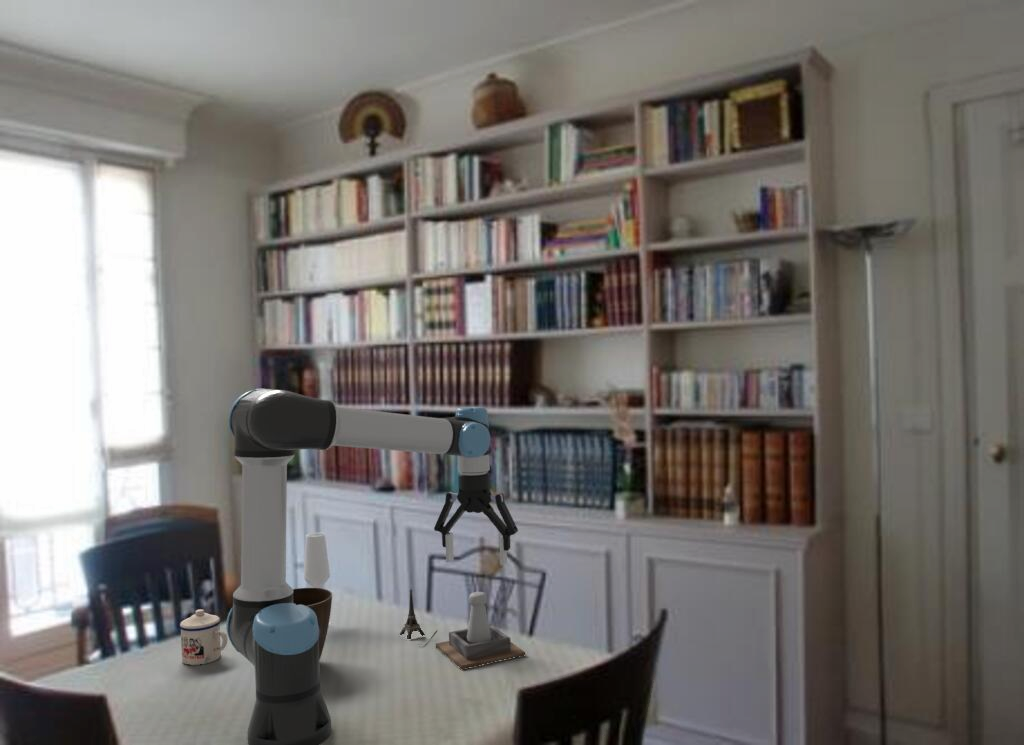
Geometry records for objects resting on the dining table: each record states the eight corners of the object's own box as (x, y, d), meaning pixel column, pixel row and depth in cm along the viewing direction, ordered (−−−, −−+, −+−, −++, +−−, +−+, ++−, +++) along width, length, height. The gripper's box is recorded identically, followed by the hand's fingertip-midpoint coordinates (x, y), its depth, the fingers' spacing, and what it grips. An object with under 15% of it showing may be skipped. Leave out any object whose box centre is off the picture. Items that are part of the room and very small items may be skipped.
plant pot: (311, 682, 177) (308, 609, 177) (253, 675, 182) (251, 604, 182) (346, 657, 192) (344, 589, 191) (292, 651, 196) (290, 585, 196)
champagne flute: (324, 618, 220) (321, 530, 220) (336, 624, 215) (332, 534, 214) (301, 624, 216) (297, 534, 215) (312, 630, 211) (309, 538, 210)
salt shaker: (462, 650, 191) (460, 595, 191) (475, 641, 196) (473, 588, 196) (484, 653, 188) (482, 597, 188) (496, 645, 193) (494, 591, 193)
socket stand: (525, 656, 189) (524, 639, 188) (461, 670, 182) (460, 652, 181) (496, 635, 203) (495, 619, 203) (435, 647, 196) (435, 631, 196)
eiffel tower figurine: (424, 649, 196) (423, 594, 196) (384, 648, 198) (383, 593, 198) (441, 628, 211) (439, 577, 211) (403, 627, 213) (402, 576, 213)
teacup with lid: (172, 663, 191) (170, 614, 190) (199, 650, 199) (197, 603, 199) (213, 669, 187) (211, 619, 186) (240, 655, 195) (238, 606, 195)
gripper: (529, 471, 191) (531, 561, 191) (432, 469, 199) (434, 555, 199) (519, 476, 184) (521, 569, 184) (418, 473, 192) (421, 563, 192)
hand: (476, 562), depth 192 cm, fingers open, 13 cm apart
